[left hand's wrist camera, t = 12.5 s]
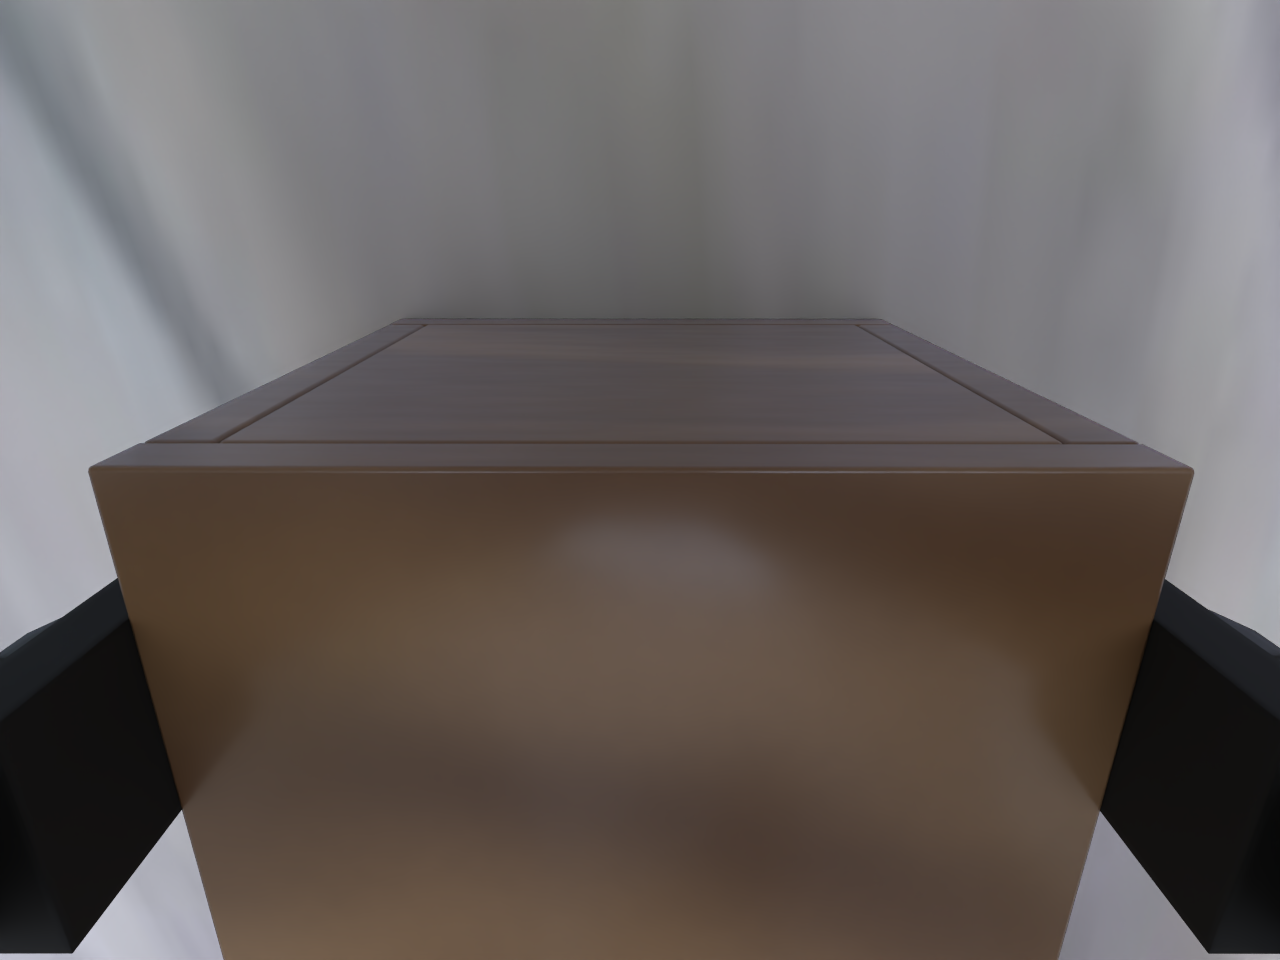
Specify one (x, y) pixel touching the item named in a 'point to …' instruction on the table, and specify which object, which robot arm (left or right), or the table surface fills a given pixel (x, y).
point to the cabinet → (641, 643)
